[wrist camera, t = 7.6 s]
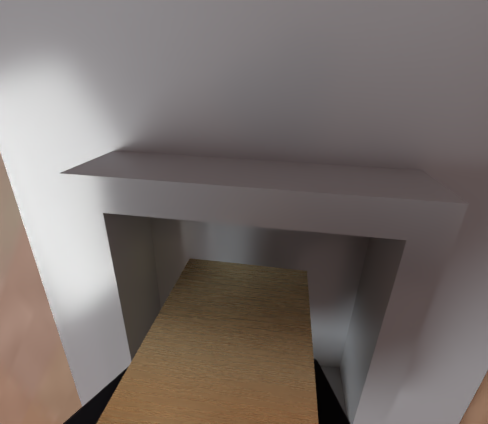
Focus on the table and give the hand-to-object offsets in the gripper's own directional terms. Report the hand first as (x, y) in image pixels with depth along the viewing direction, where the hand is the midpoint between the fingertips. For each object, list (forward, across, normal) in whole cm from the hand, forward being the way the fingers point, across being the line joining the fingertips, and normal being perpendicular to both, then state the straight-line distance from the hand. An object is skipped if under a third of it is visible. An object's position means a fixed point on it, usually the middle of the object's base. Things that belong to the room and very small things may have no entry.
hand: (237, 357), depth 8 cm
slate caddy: (+4, 0, 0) cm, 4 cm away
